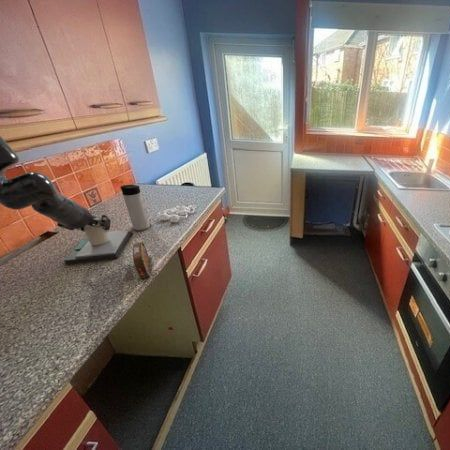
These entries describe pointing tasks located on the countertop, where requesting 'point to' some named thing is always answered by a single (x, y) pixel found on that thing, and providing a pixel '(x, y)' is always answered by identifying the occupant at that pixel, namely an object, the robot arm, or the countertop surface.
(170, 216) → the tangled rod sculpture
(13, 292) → the countertop surface
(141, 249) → the tin
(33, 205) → the robot arm
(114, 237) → the scale
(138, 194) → the travel mug
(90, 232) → the pot
